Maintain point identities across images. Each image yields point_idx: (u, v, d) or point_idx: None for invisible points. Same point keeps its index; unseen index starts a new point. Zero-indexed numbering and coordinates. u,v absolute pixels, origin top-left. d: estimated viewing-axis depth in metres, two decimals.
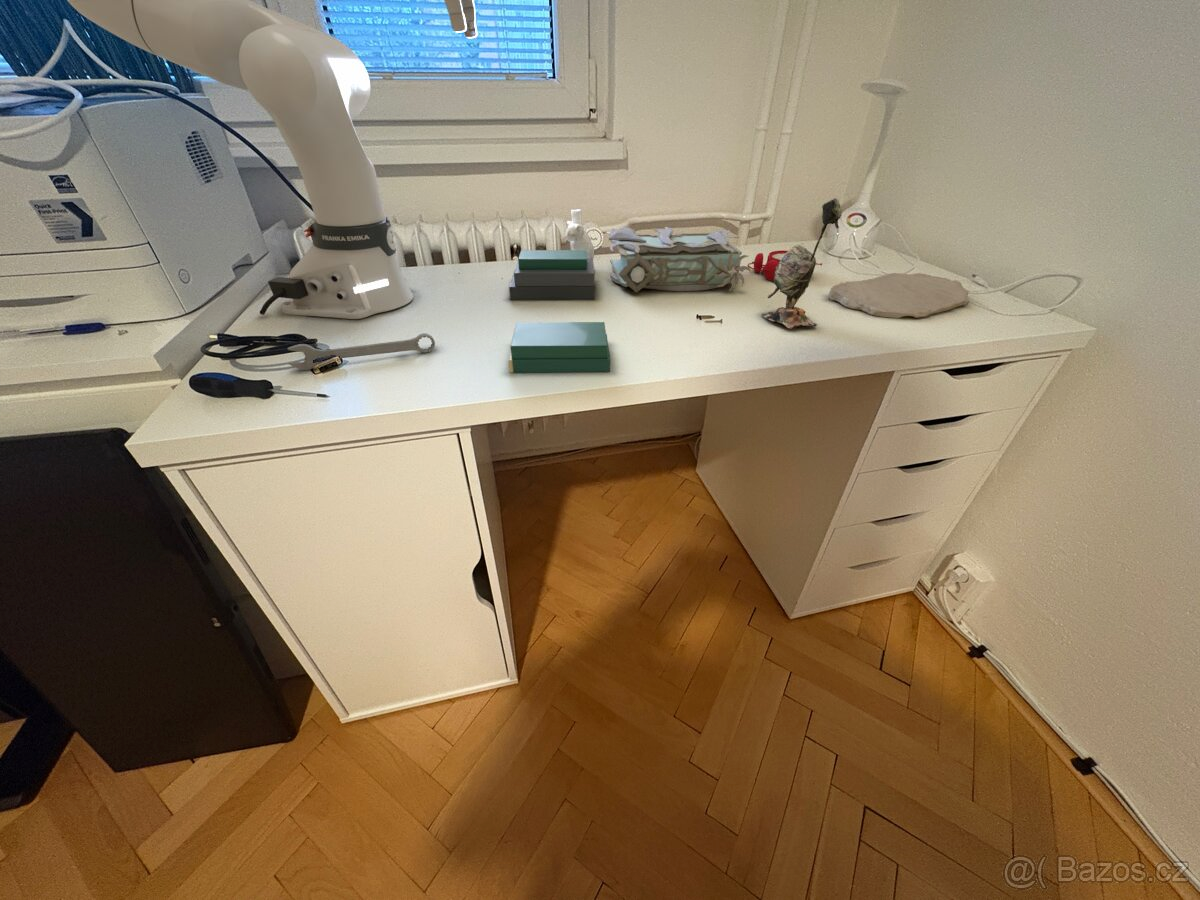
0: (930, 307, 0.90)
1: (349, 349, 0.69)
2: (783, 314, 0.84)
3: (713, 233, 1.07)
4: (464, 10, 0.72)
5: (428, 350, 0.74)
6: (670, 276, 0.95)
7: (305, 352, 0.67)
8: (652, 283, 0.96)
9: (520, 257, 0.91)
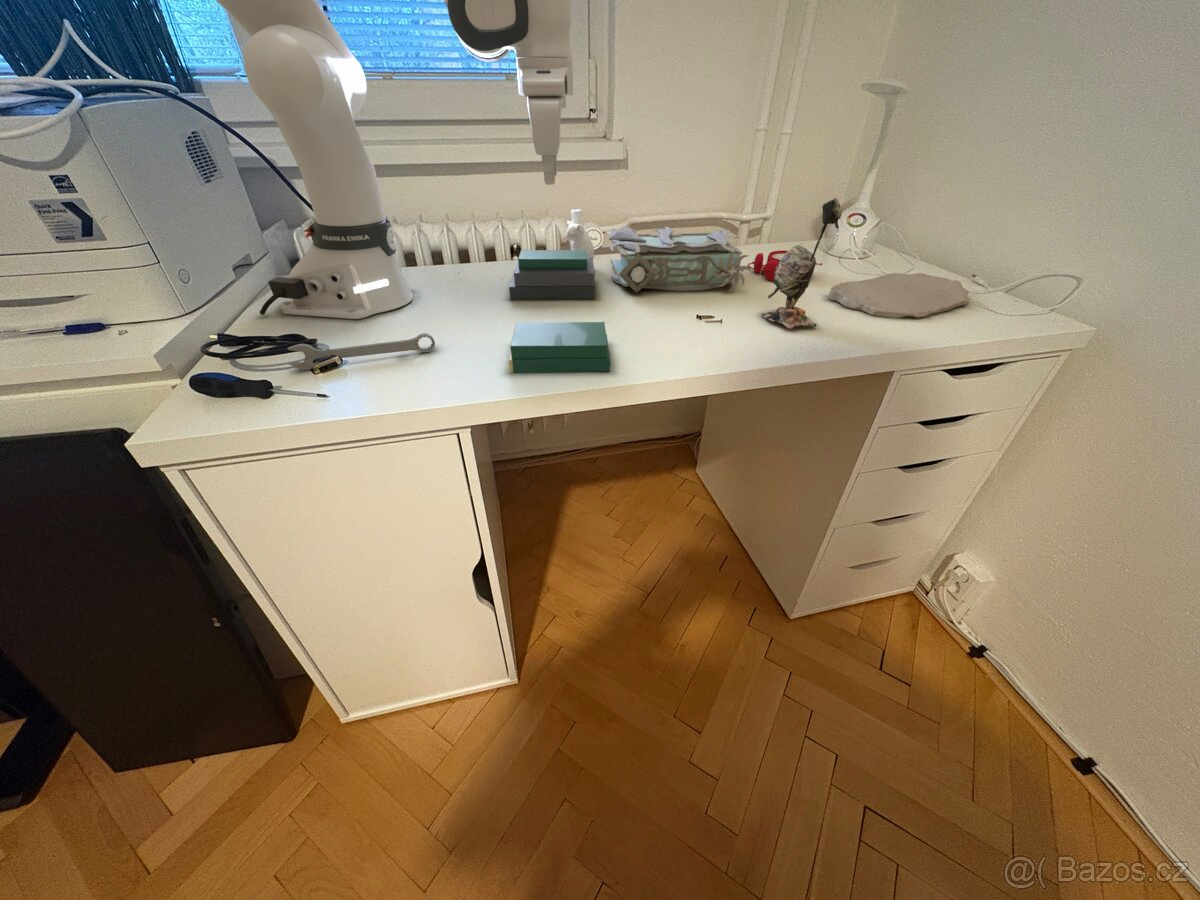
0: (930, 307, 0.90)
1: (349, 349, 0.69)
2: (783, 314, 0.84)
3: (713, 233, 1.08)
4: None
5: (428, 350, 0.74)
6: (670, 276, 0.95)
7: (305, 352, 0.67)
8: (652, 283, 0.96)
9: (520, 257, 0.91)
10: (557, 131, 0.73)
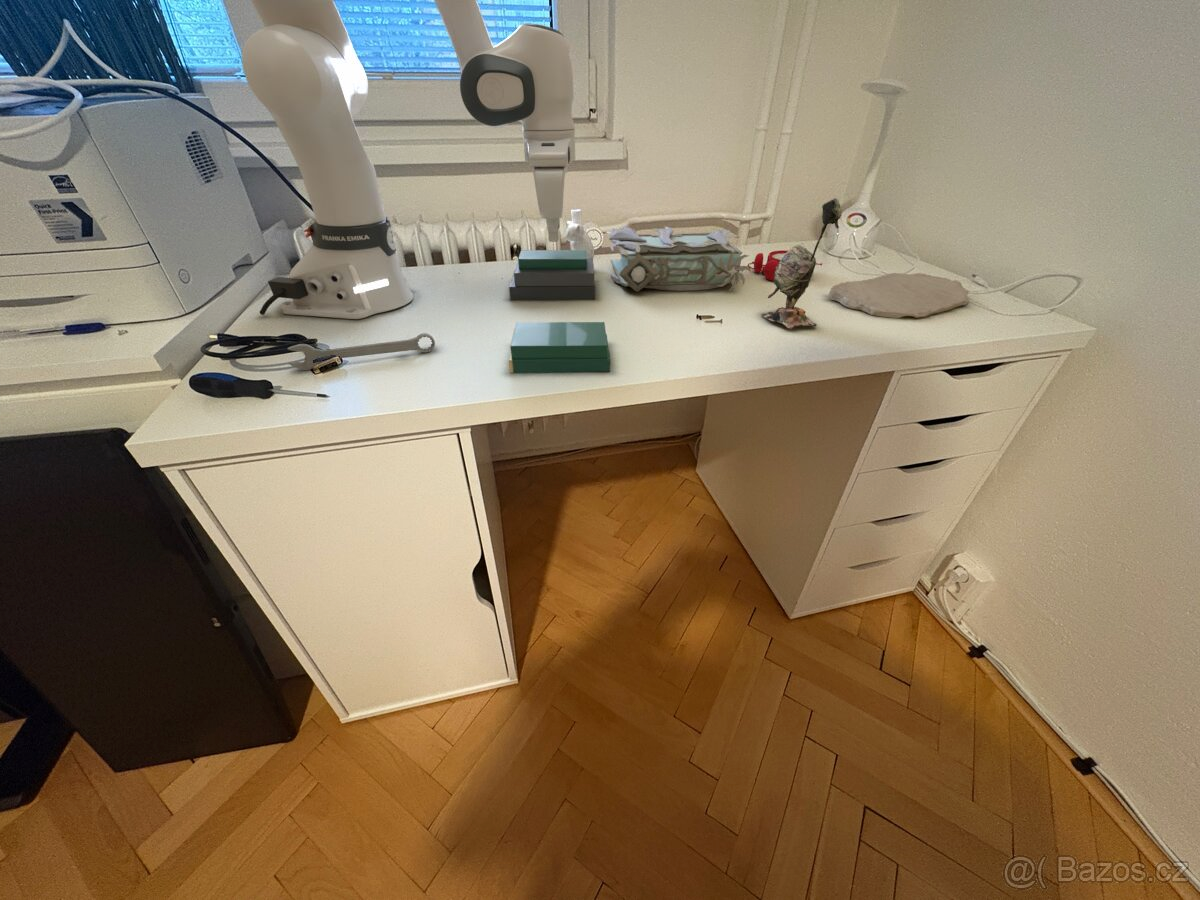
0: (930, 307, 0.90)
1: (349, 349, 0.69)
2: (783, 314, 0.84)
3: (713, 233, 1.08)
4: None
5: (428, 350, 0.74)
6: (671, 276, 0.95)
7: (305, 352, 0.67)
8: (653, 283, 0.96)
9: (520, 257, 0.91)
10: (561, 198, 0.79)
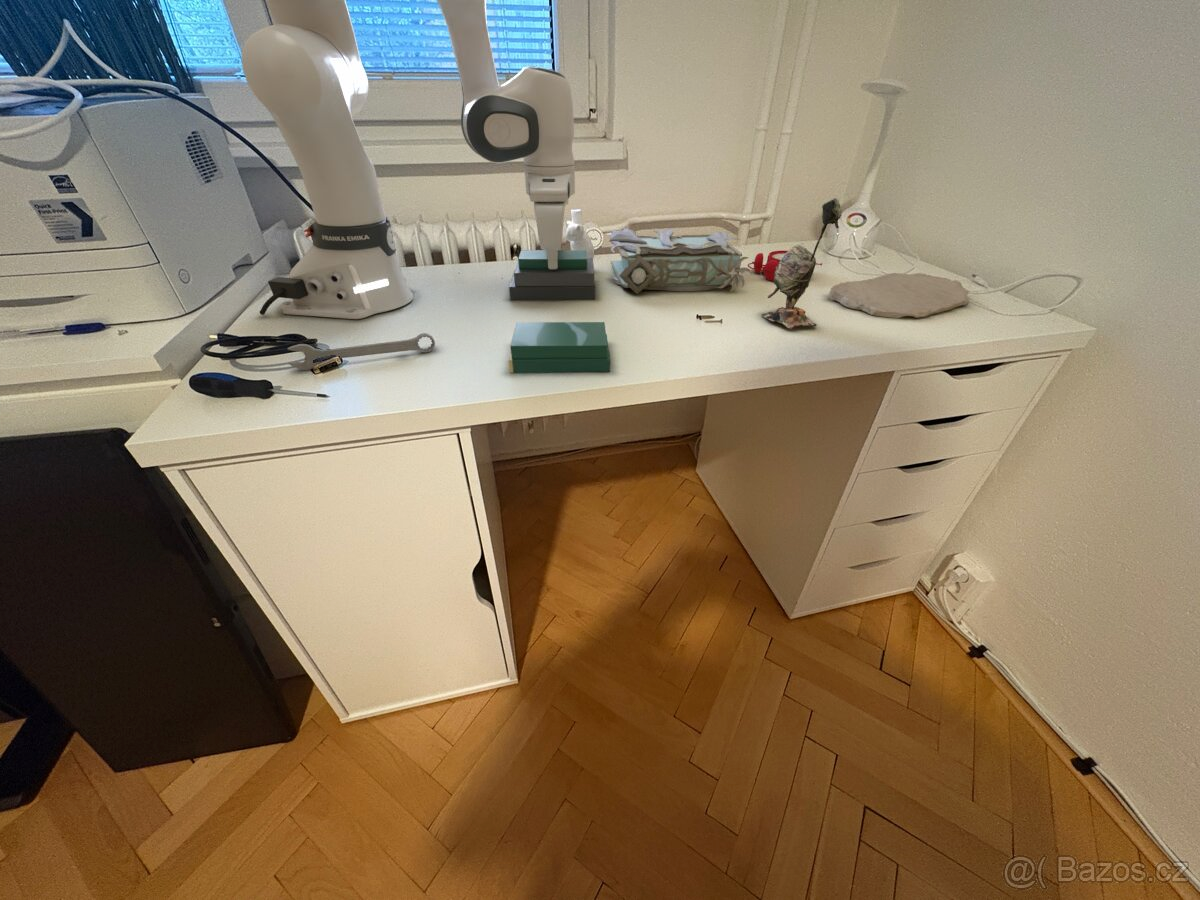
0: (930, 307, 0.90)
1: (349, 349, 0.69)
2: (783, 314, 0.84)
3: (713, 234, 1.08)
4: None
5: (428, 350, 0.74)
6: (671, 278, 0.95)
7: (305, 352, 0.67)
8: (653, 284, 0.96)
9: (520, 257, 0.91)
10: (560, 232, 0.82)
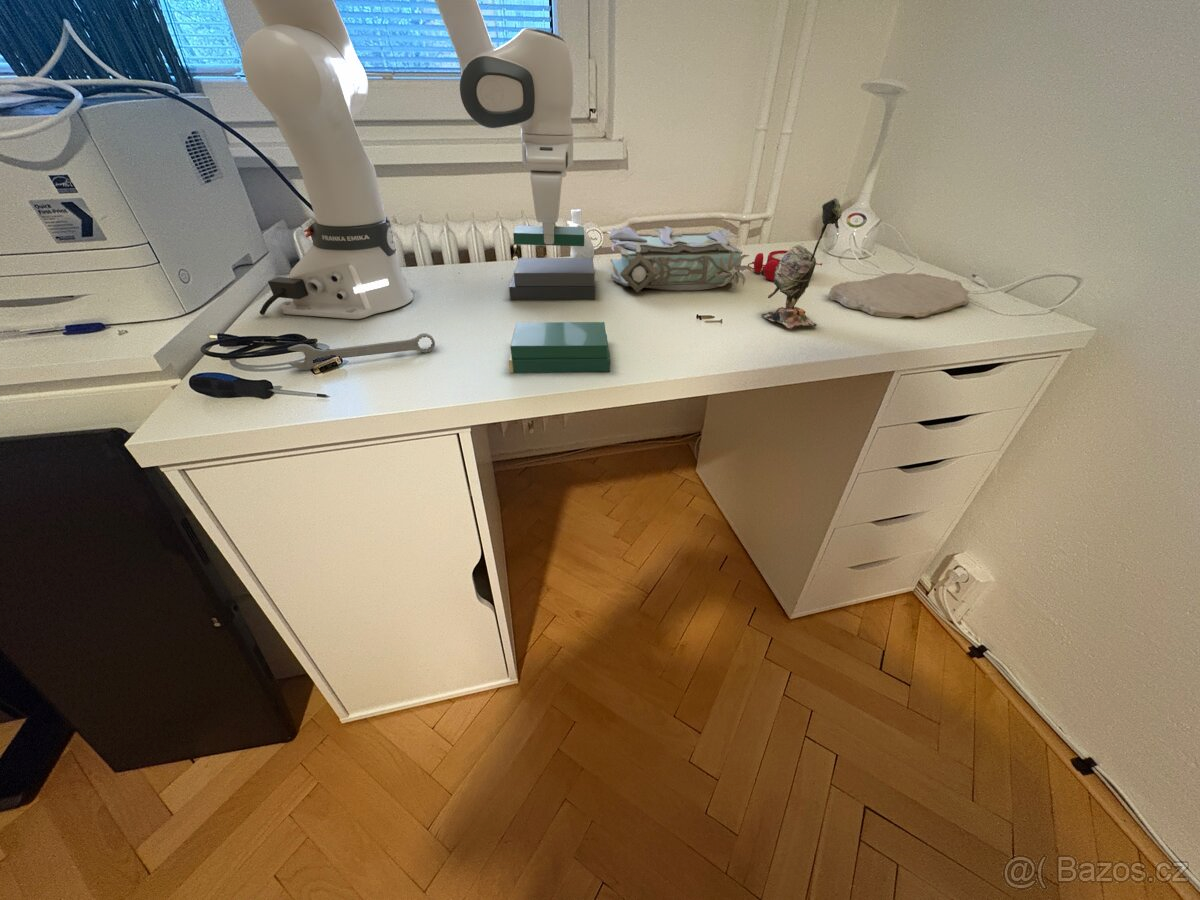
0: (930, 307, 0.90)
1: (349, 349, 0.69)
2: (783, 314, 0.84)
3: (713, 233, 1.08)
4: None
5: (428, 350, 0.74)
6: (671, 276, 0.95)
7: (305, 352, 0.67)
8: (653, 283, 0.96)
9: (515, 231, 0.89)
10: (557, 203, 0.79)
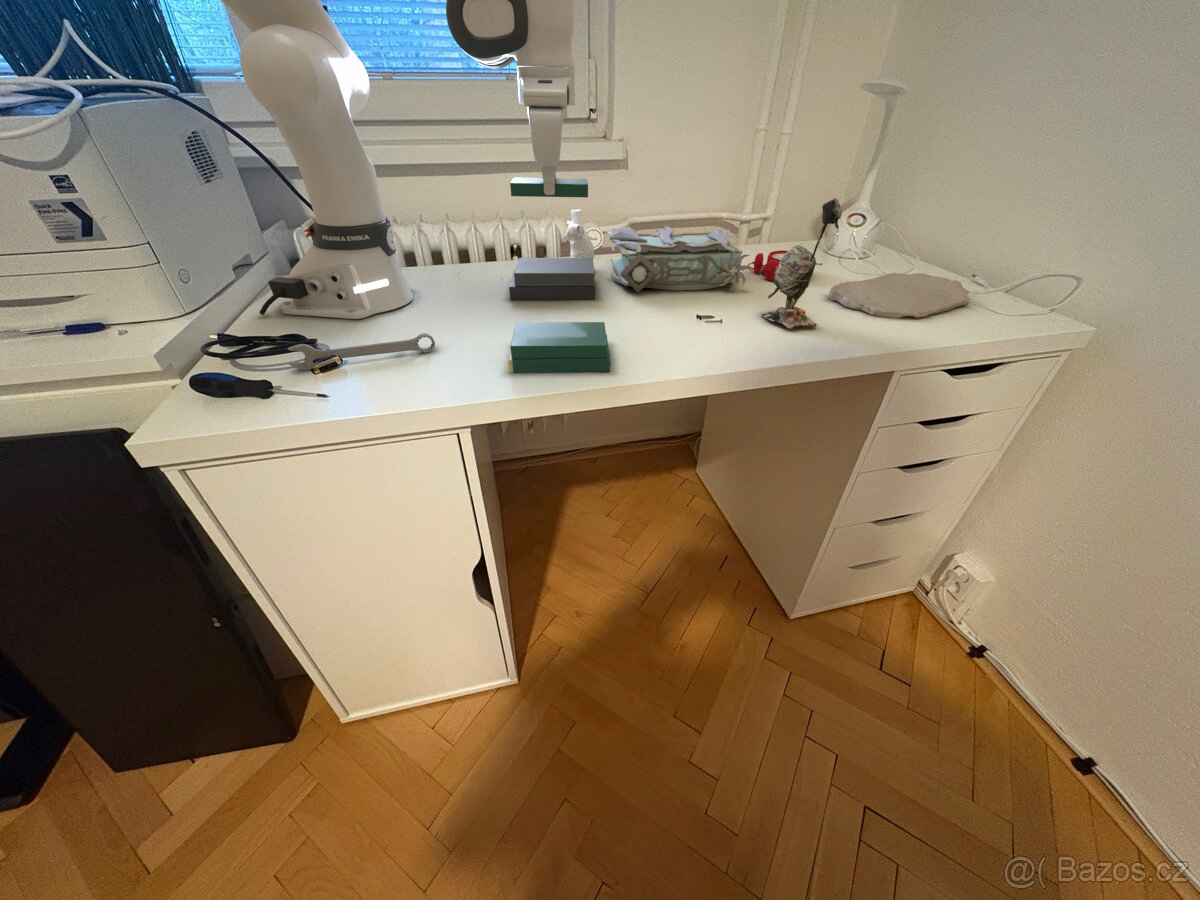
0: (930, 307, 0.90)
1: (349, 349, 0.69)
2: (783, 314, 0.84)
3: (713, 233, 1.08)
4: None
5: (428, 350, 0.74)
6: (671, 276, 0.95)
7: (305, 352, 0.67)
8: (653, 282, 0.96)
9: (512, 181, 0.81)
10: (558, 143, 0.71)
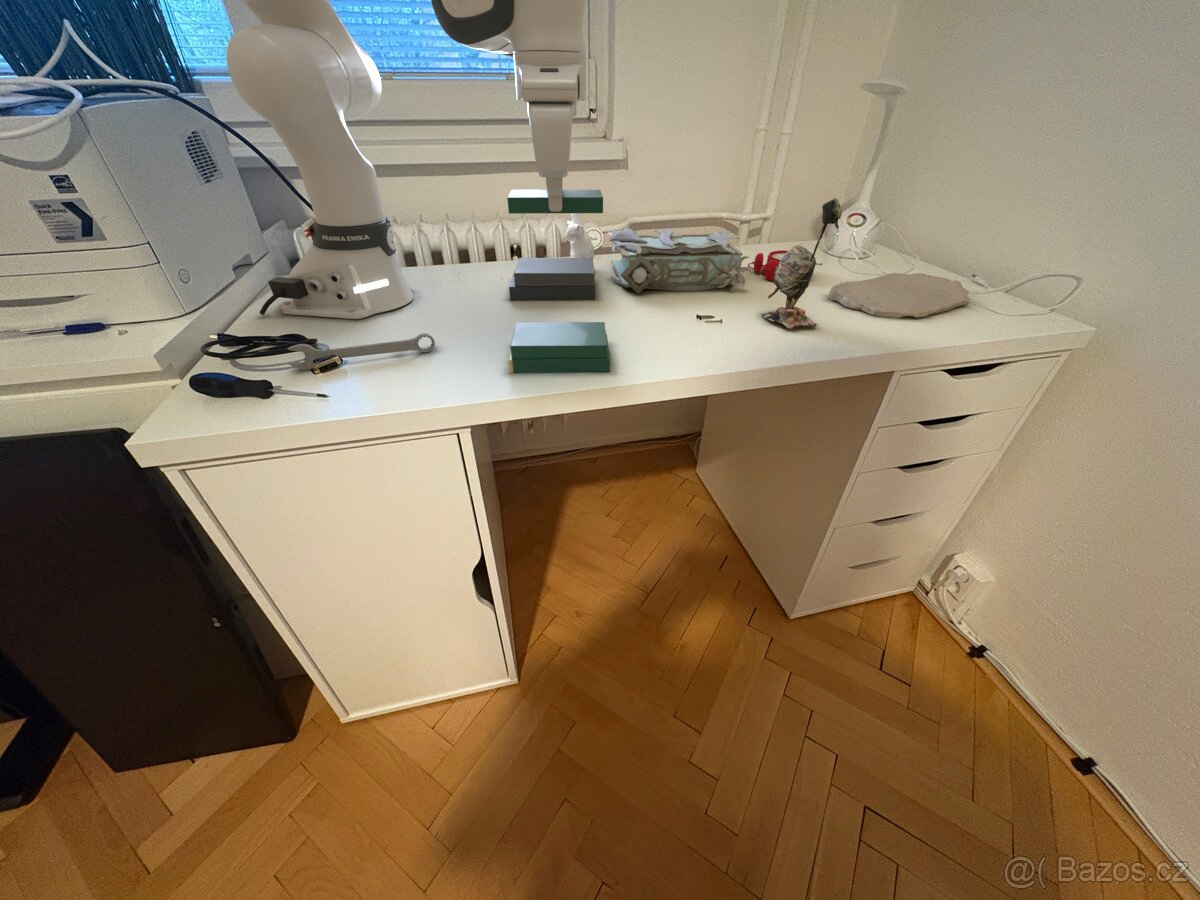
0: (930, 307, 0.90)
1: (349, 349, 0.69)
2: (783, 314, 0.84)
3: (713, 234, 1.08)
4: None
5: (428, 350, 0.74)
6: (672, 277, 0.95)
7: (305, 352, 0.67)
8: (654, 284, 0.96)
9: (510, 196, 0.66)
10: (567, 147, 0.56)
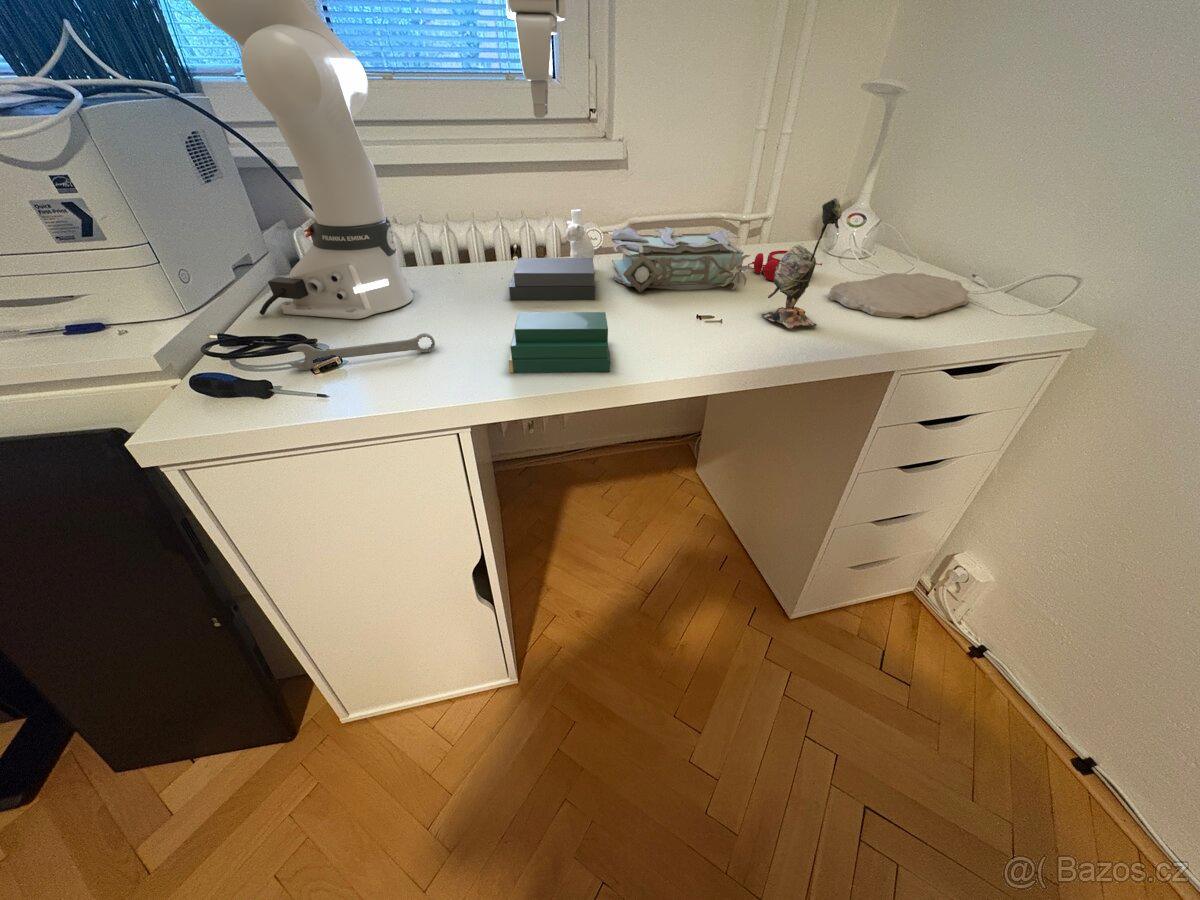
0: (930, 307, 0.90)
1: (349, 349, 0.69)
2: (783, 314, 0.84)
3: (714, 233, 1.09)
4: None
5: (428, 350, 0.74)
6: (674, 276, 0.96)
7: (305, 352, 0.67)
8: (656, 283, 0.97)
9: (517, 326, 0.67)
10: (547, 52, 0.68)
